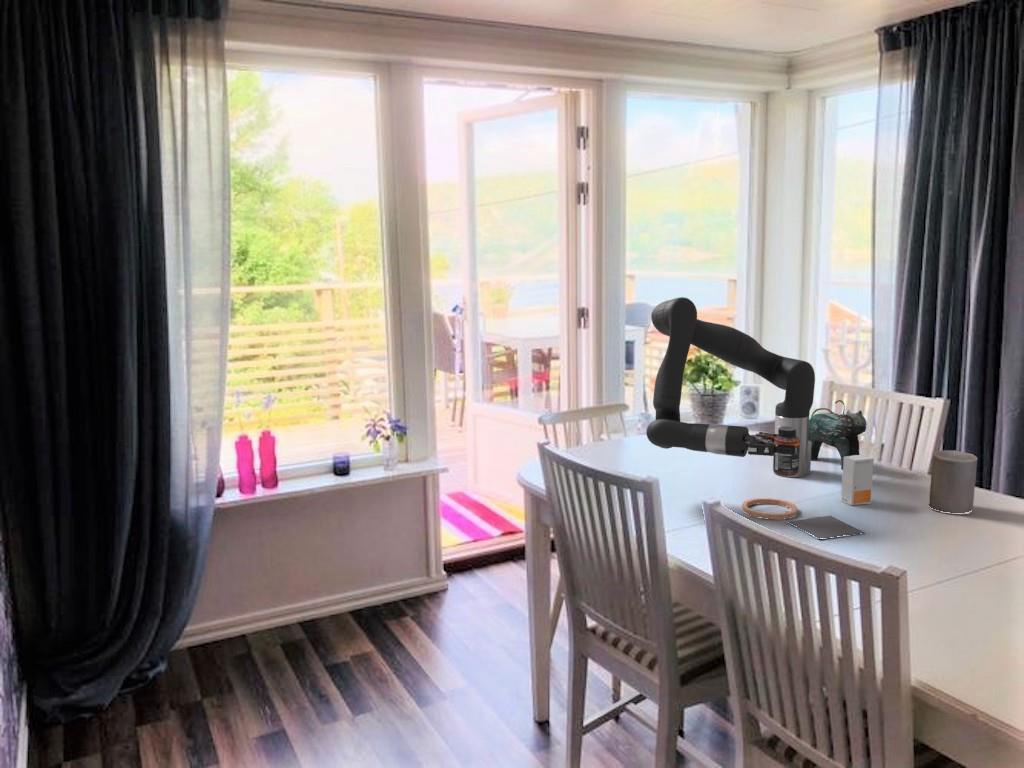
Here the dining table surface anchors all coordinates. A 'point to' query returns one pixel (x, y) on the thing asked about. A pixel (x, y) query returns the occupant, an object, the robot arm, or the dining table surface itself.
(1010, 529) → the dining table surface
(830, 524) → the mat
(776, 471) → the supplement bottle
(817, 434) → the ceramic cat
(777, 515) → the wooden ring
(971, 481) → the pillar candle
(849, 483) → the skincare box
